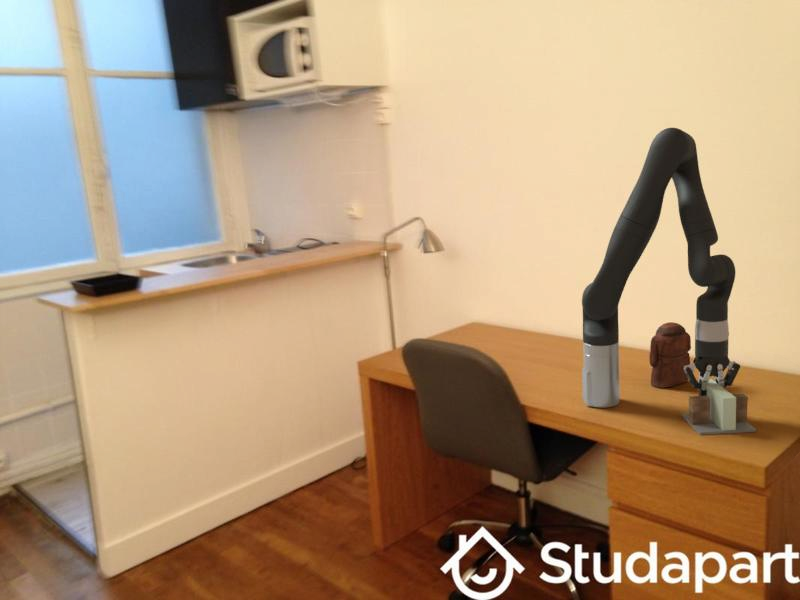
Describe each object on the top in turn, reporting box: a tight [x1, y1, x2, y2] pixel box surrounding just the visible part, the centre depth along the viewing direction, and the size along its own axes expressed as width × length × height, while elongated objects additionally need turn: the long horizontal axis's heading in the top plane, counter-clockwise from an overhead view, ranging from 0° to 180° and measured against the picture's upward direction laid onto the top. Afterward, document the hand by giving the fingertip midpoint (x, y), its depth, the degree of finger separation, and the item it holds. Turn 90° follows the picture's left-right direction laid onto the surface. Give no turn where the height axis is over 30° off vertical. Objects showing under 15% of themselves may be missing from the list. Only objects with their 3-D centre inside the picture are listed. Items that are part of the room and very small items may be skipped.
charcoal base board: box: [681, 413, 757, 436], centre depth 170 cm, size 13×12×1 cm
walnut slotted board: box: [688, 393, 749, 425], centre depth 169 cm, size 13×2×6 cm, turn 87°
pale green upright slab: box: [706, 378, 736, 431], centre depth 170 cm, size 3×14×8 cm, turn 178°
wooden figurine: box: [649, 321, 692, 389], centre depth 198 cm, size 12×6×18 cm, turn 115°
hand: (710, 402), depth 174 cm, fingers closed on pale green upright slab, 3 cm apart
